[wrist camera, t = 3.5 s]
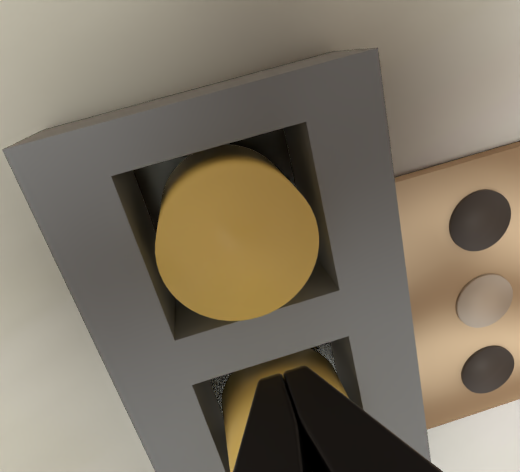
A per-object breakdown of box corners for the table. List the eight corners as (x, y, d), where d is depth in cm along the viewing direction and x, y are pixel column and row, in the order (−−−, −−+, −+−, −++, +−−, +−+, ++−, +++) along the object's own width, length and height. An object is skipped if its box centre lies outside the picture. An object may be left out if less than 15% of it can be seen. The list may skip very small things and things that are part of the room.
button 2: (347, 421, 20) (385, 502, 16) (239, 456, 20) (252, 547, 16) (326, 329, 18) (364, 398, 14) (206, 367, 18) (214, 447, 14)
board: (407, 497, 26) (444, 567, 23) (227, 558, 26) (235, 641, 22) (334, 51, 17) (377, 47, 13) (43, 130, 16) (2, 149, 12)
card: (548, 379, 25) (559, 389, 24) (413, 423, 24) (420, 435, 24) (552, 131, 19) (567, 134, 19) (379, 182, 19) (387, 186, 18)
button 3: (301, 248, 18) (331, 294, 15) (183, 283, 18) (184, 339, 14) (274, 128, 16) (301, 147, 13) (141, 165, 16) (130, 195, 12)
